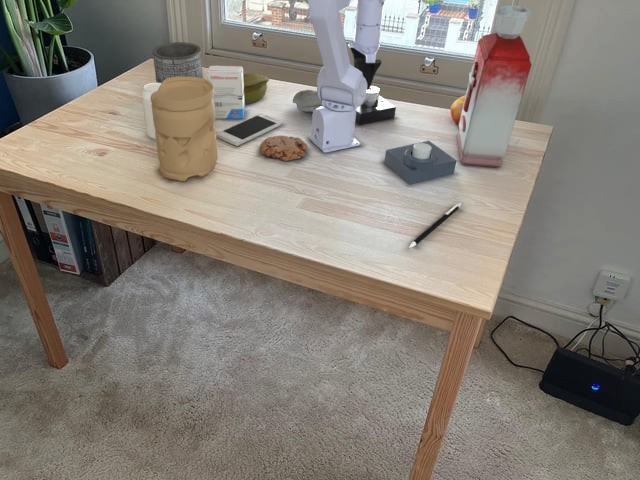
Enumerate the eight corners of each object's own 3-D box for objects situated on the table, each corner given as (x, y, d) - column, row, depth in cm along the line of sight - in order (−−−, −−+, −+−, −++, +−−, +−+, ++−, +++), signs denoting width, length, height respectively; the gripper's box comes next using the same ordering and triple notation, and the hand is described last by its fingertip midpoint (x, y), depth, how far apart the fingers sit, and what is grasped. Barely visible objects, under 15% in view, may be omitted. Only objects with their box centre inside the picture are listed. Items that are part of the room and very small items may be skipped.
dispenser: (411, 186, 118) (415, 164, 115) (383, 163, 126) (387, 142, 123) (455, 175, 121) (461, 154, 118) (426, 153, 129) (430, 132, 126)
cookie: (258, 143, 134) (258, 131, 132) (303, 141, 134) (304, 129, 132) (261, 164, 126) (261, 152, 124) (309, 162, 127) (310, 149, 125)
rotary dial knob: (379, 106, 141) (381, 91, 139) (361, 106, 141) (362, 91, 139) (376, 99, 144) (378, 84, 142) (359, 99, 145) (361, 84, 142)
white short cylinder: (418, 161, 117) (420, 152, 116) (408, 153, 119) (410, 144, 118) (433, 158, 118) (435, 149, 117) (423, 150, 120) (424, 141, 119)
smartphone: (215, 136, 136) (215, 133, 136) (260, 116, 145) (260, 112, 144) (237, 146, 132) (236, 142, 132) (281, 124, 141) (281, 121, 140)
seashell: (283, 111, 147) (283, 92, 144) (300, 100, 152) (301, 82, 149) (323, 123, 141) (324, 103, 138) (339, 111, 147) (341, 92, 143)
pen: (462, 206, 112) (463, 201, 111) (410, 250, 102) (411, 245, 101) (458, 205, 113) (459, 200, 112) (406, 248, 102) (407, 243, 101)
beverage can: (166, 128, 140) (160, 79, 133) (178, 137, 136) (172, 87, 129) (143, 134, 138) (135, 85, 130) (154, 144, 134) (147, 94, 126)
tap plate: (359, 125, 140) (360, 113, 138) (341, 111, 147) (342, 99, 145) (394, 118, 143) (396, 106, 141) (375, 104, 149) (377, 93, 147)
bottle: (505, 170, 123) (550, 21, 103) (455, 166, 125) (490, 19, 105) (497, 139, 134) (537, 0, 114) (452, 136, 135) (483, -3, 116)
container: (156, 184, 120) (144, 100, 108) (164, 155, 130) (154, 76, 118) (216, 183, 120) (211, 100, 108) (219, 155, 130) (215, 75, 118)
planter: (213, 95, 155) (210, 46, 147) (185, 111, 148) (180, 61, 139) (177, 86, 160) (172, 39, 152) (149, 102, 153) (142, 52, 144)
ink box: (245, 111, 147) (244, 65, 139) (243, 119, 143) (241, 72, 136) (212, 110, 148) (209, 64, 140) (209, 118, 144) (205, 71, 137)
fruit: (495, 125, 136) (485, 97, 132) (463, 141, 139) (451, 114, 135) (485, 111, 142) (475, 83, 138) (454, 126, 145) (443, 100, 141)
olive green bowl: (268, 108, 149) (268, 82, 144) (222, 107, 149) (220, 82, 145) (269, 90, 157) (269, 66, 153) (225, 90, 158) (224, 66, 153)
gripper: (346, 13, 133) (341, 72, 142) (355, 33, 122) (349, 95, 131) (376, 12, 133) (369, 71, 142) (388, 32, 122) (380, 95, 131)
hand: (362, 83), depth 136 cm, fingers open, 7 cm apart
